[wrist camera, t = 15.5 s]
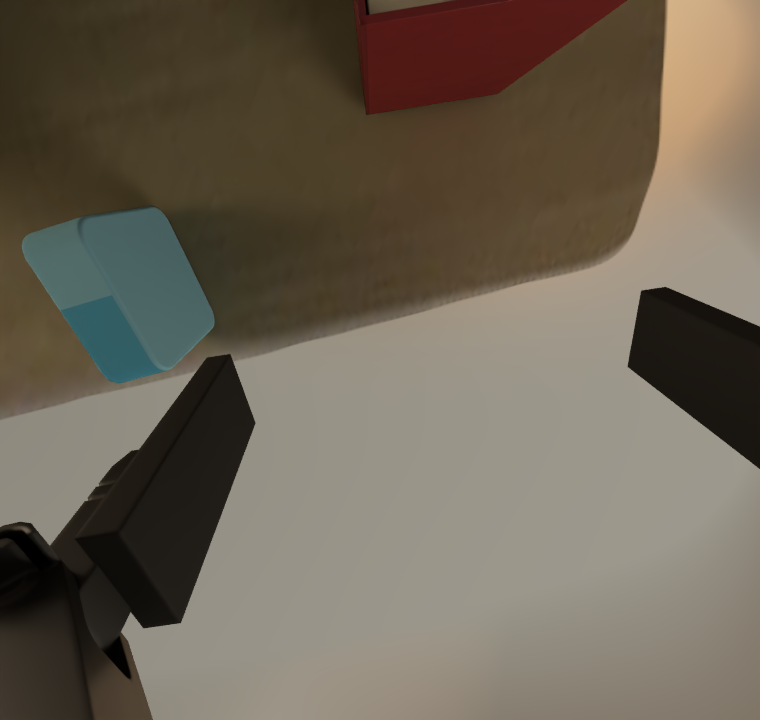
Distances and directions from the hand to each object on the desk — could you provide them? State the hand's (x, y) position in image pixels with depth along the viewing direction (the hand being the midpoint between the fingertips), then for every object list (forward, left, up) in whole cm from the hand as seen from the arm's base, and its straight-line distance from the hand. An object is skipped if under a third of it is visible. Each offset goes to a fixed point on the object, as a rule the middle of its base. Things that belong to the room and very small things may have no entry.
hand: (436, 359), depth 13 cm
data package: (-9, -20, -27) cm, 35 cm away
